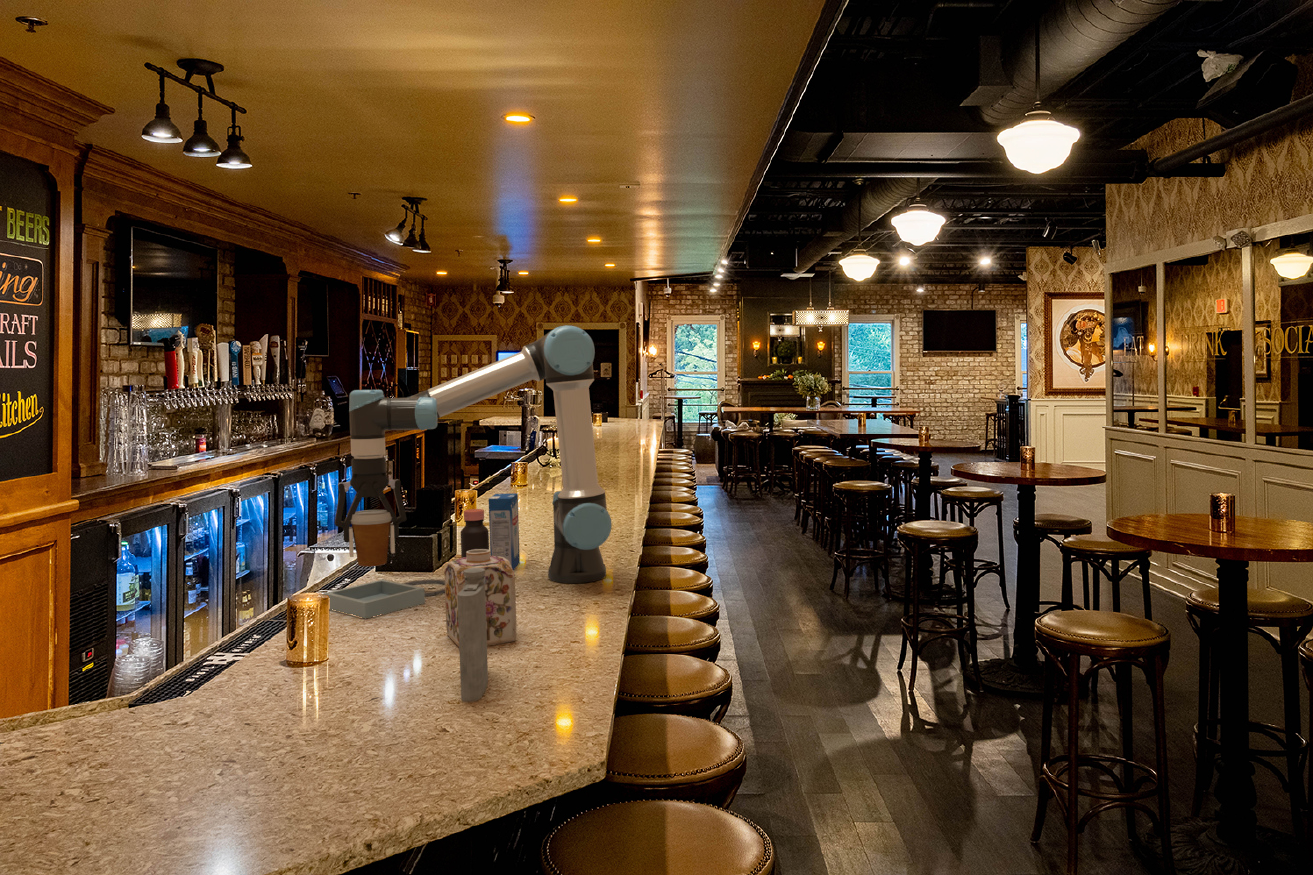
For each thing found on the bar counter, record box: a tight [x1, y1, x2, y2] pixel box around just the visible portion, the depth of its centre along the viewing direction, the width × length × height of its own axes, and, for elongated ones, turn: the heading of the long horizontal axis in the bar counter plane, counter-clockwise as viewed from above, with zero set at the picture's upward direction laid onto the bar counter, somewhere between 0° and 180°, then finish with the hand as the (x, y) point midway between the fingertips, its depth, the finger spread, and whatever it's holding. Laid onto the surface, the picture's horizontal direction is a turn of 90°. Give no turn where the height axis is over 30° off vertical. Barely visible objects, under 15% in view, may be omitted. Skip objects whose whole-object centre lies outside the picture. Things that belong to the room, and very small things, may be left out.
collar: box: [402, 578, 445, 597], centre depth 211 cm, size 15×15×1 cm
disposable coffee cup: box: [350, 509, 392, 568], centre depth 196 cm, size 10×10×12 cm
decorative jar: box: [443, 549, 517, 648], centre depth 170 cm, size 12×12×18 cm
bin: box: [323, 578, 426, 620], centre depth 197 cm, size 16×16×4 cm
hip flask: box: [457, 568, 489, 703], centre depth 144 cm, size 16×4×20 cm, turn 8°
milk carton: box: [488, 492, 521, 572], centre depth 234 cm, size 10×6×20 cm, turn 179°
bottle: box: [460, 508, 490, 558], centre depth 209 cm, size 7×7×20 cm
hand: (372, 553), depth 196 cm, fingers closed on disposable coffee cup, 8 cm apart
